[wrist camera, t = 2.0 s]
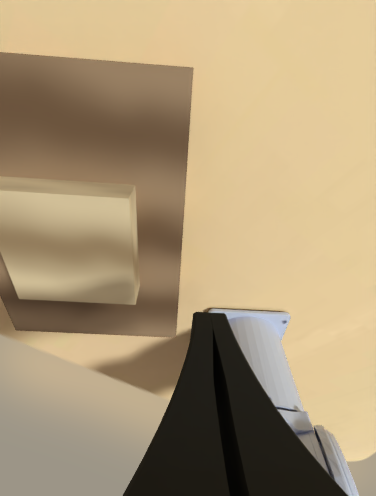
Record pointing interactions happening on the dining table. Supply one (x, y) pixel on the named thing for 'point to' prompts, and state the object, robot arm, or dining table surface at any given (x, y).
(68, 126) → the walnut board
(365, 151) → the dining table surface
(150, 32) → the dining table surface
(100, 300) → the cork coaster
